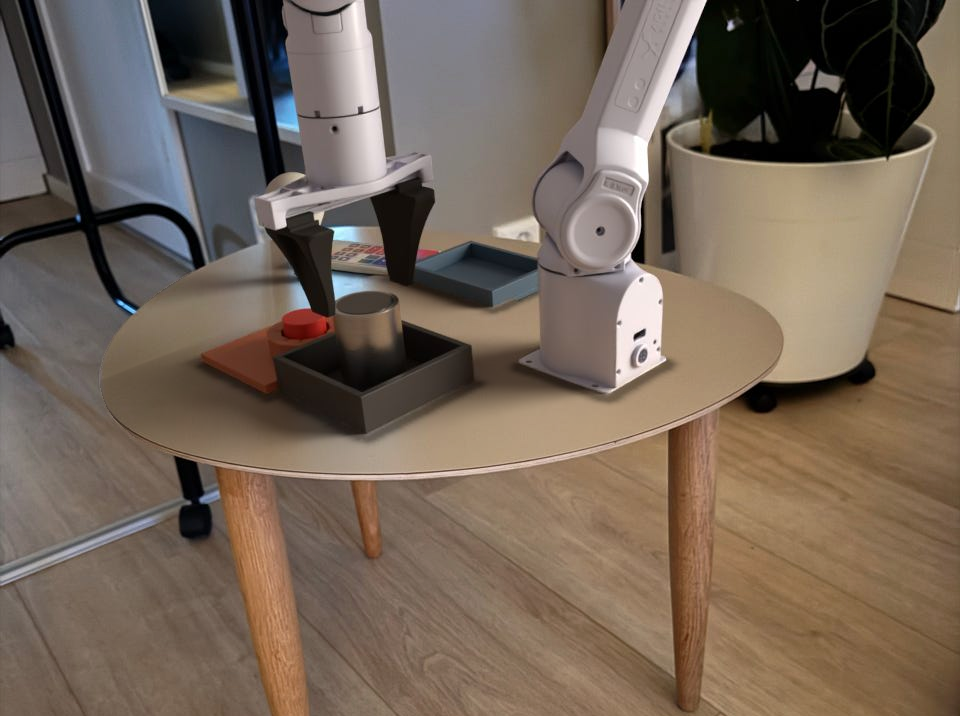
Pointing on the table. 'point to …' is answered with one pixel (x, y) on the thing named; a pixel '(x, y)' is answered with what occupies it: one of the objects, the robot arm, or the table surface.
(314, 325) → the button
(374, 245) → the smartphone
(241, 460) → the table surface
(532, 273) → the tray
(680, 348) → the table surface
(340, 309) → the steel cup
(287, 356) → the dark grey open box
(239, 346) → the control
